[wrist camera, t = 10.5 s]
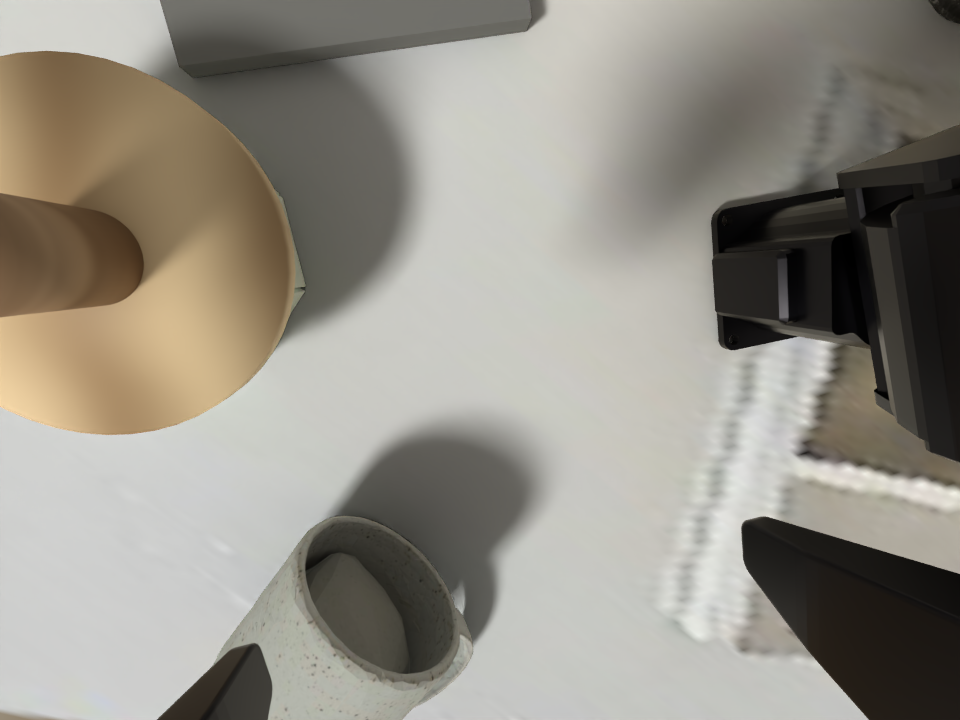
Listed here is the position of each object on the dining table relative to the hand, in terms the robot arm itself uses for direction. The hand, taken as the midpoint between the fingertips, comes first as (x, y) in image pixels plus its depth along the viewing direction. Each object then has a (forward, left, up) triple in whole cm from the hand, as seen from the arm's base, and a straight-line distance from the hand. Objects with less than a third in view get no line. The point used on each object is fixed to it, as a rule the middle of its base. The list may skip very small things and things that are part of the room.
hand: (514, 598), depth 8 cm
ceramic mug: (+6, +9, -13) cm, 17 cm away
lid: (+10, -8, -9) cm, 16 cm away
